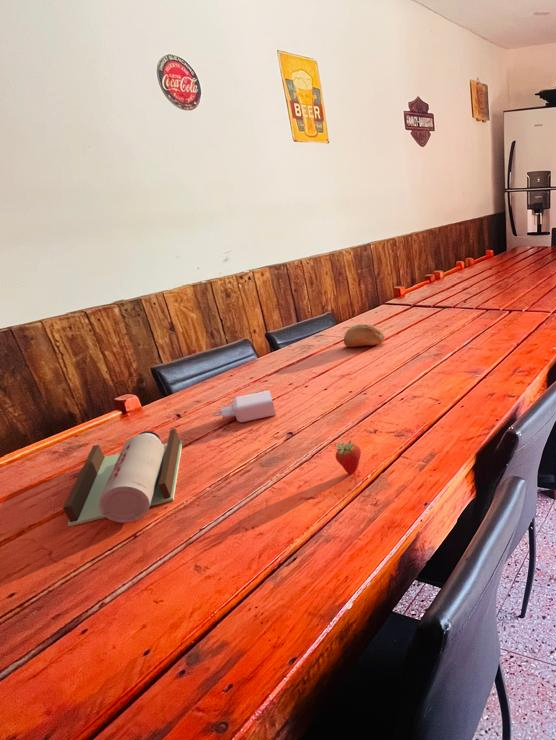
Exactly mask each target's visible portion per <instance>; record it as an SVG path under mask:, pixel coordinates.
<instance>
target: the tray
mask: <svg viewBox="0 0 556 740" xmlns="http://www.w3.org/2000/svg"><path fill="white" fill-rule="evenodd" d="M162 444H163V446H164V449H165V454H164V458H163V461H162V465H161V468H160V472H159V475H158V479H157V482H156V485H155V489H154V493H153V497H152V500H151V504H150V507H153V506H157V505H161V504H166V503H169V502H173V501H175V494H176V487H177V482H178V476H179V475H178V474H179V469H180V463H181V455H182V450H183V449H182V448H183V440H181V439H180V437H179V434H178V431H177V429H176V428H174V429H173V428H172V429H170V430H169V434H168V439H167V442H166V443H162ZM119 455H120V453H116V454H111V455H106V456H105V455H104V453H103V451H102V447H101V446H100V444H96V445H93V446H92V448H91V450H90V452H89V453H88V456H87V457H86V459H85V462H84V464H83V466H82V467H81V470H80V472H79V474H78V476H77V478H76V480H75V481H74V484H73V486H72V489H71V491H70V492H69V494H68V497H67V498H66V501H65V502H64V505H63V507H62V508H63V511H64V512H65V515H66V517H67V518H68V522H67V527H73V526H77V525H82V524H86V523H90V522H94V521H97V520H102V519H107V517H105V516H104V515H103V514H102V513H101V511H100V509H99V501H100V498H101V495H102V493H103V491H104V489H105V486H106V484H107V482H108V480H109V477H110V475H111V473H112V471H113V469H114V466H115V464H116V462H117V460H118V457H119Z"/></svg>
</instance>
